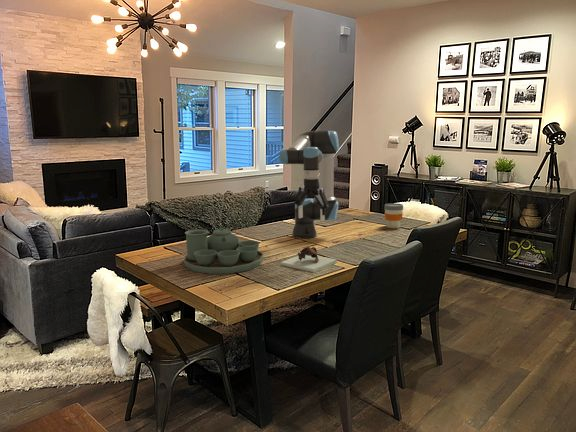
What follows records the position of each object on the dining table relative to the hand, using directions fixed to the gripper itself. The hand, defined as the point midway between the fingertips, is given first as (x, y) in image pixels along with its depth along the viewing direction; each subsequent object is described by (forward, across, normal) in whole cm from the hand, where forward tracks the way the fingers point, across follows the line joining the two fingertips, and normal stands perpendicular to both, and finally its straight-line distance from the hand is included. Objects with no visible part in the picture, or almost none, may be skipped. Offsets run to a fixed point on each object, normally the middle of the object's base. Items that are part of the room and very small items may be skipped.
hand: (311, 219), depth 237 cm
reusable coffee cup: (+23, +1, +95) cm, 98 cm away
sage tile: (+20, +5, -9) cm, 23 cm away
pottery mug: (+19, +5, -9) cm, 22 cm away
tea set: (+21, -32, -32) cm, 49 cm away
